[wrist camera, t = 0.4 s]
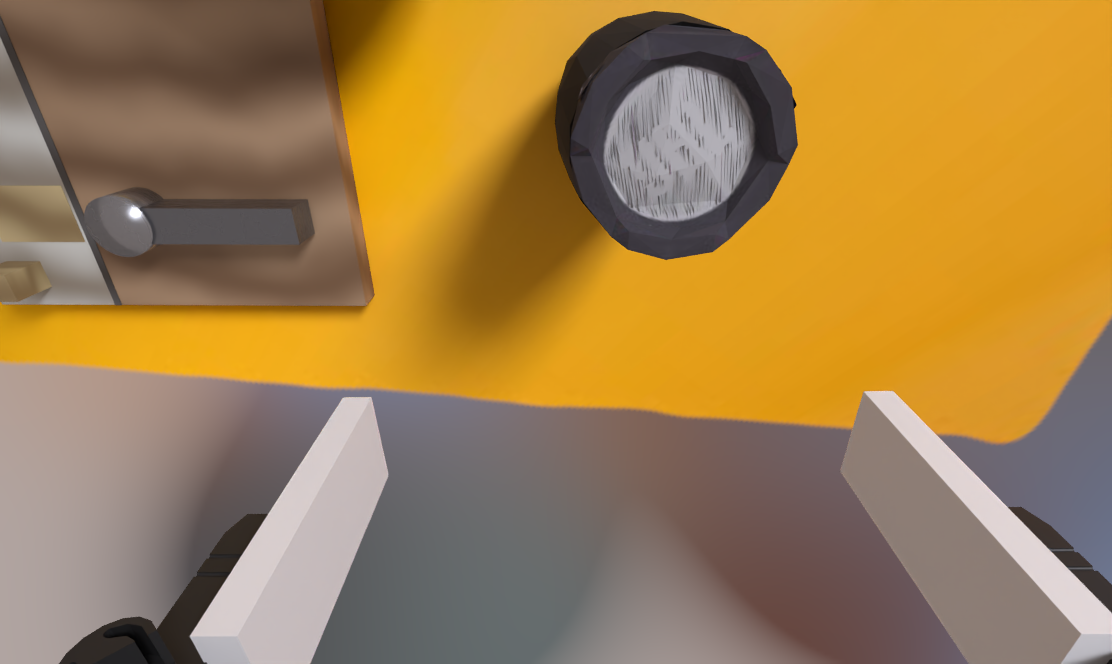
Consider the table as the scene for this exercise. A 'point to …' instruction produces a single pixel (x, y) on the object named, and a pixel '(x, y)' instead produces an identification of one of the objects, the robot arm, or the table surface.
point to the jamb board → (173, 148)
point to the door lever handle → (193, 221)
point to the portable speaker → (673, 131)
